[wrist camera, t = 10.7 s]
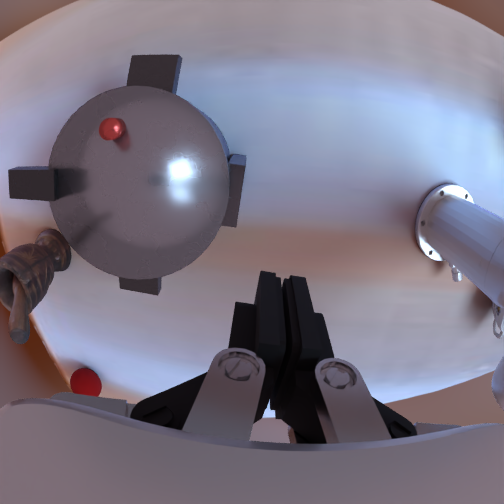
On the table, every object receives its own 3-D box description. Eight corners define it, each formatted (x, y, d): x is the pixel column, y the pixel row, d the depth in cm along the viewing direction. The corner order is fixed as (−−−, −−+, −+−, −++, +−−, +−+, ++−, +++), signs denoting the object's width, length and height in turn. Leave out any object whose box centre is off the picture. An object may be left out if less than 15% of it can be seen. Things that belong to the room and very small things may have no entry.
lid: (244, 94, 23) (245, 90, 20) (217, 284, 30) (215, 299, 28) (22, 97, 20) (7, 98, 17) (27, 255, 28) (15, 265, 25)
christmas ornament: (74, 358, 50) (55, 391, 41) (102, 365, 50) (85, 401, 41) (82, 379, 53) (66, 411, 43) (108, 386, 53) (94, 421, 44)
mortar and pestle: (82, 219, 38) (-6, 286, 19) (96, 271, 41) (29, 355, 23) (32, 228, 38) (-48, 287, 20) (47, 274, 41) (-20, 344, 23)
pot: (259, 76, 30) (263, 58, 21) (229, 272, 41) (224, 314, 32) (111, 70, 29) (72, 58, 20) (102, 252, 40) (70, 286, 31)
